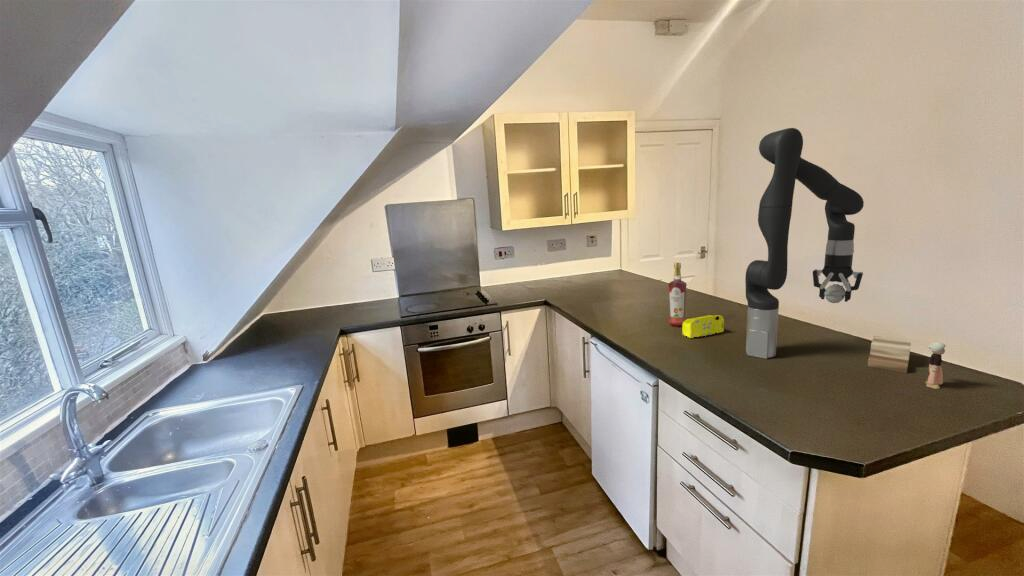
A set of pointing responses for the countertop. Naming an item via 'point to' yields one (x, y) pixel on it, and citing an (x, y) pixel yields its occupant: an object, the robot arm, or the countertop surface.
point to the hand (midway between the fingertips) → (834, 299)
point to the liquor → (677, 298)
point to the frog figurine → (835, 293)
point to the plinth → (889, 354)
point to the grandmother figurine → (935, 365)
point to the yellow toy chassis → (703, 326)
